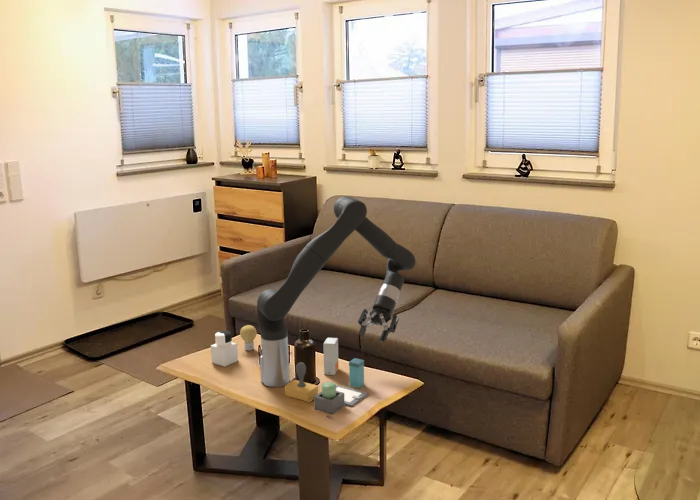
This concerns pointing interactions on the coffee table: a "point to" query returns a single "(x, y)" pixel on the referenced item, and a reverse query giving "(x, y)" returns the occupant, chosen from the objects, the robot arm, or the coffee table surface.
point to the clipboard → (351, 395)
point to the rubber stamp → (301, 386)
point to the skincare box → (330, 356)
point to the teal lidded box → (356, 372)
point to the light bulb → (248, 336)
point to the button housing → (329, 403)
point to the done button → (329, 390)
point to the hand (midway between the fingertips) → (371, 338)
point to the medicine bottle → (224, 349)
